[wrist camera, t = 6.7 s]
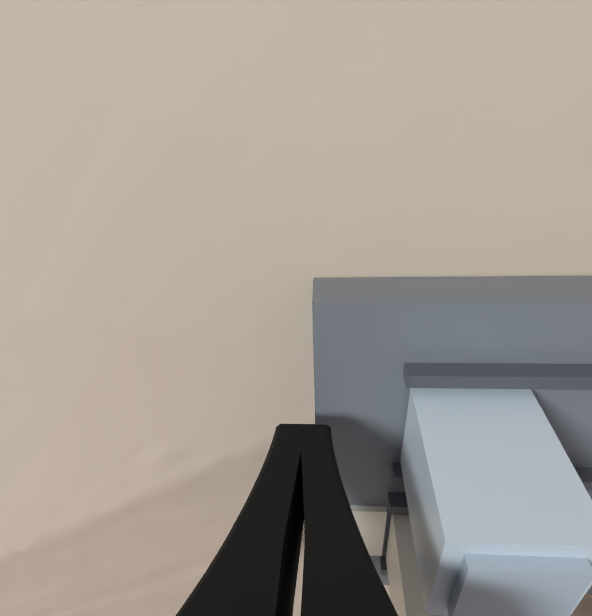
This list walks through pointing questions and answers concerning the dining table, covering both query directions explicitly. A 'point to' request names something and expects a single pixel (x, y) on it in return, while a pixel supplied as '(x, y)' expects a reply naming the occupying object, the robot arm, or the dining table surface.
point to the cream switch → (404, 569)
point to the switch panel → (442, 369)
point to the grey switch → (493, 505)
